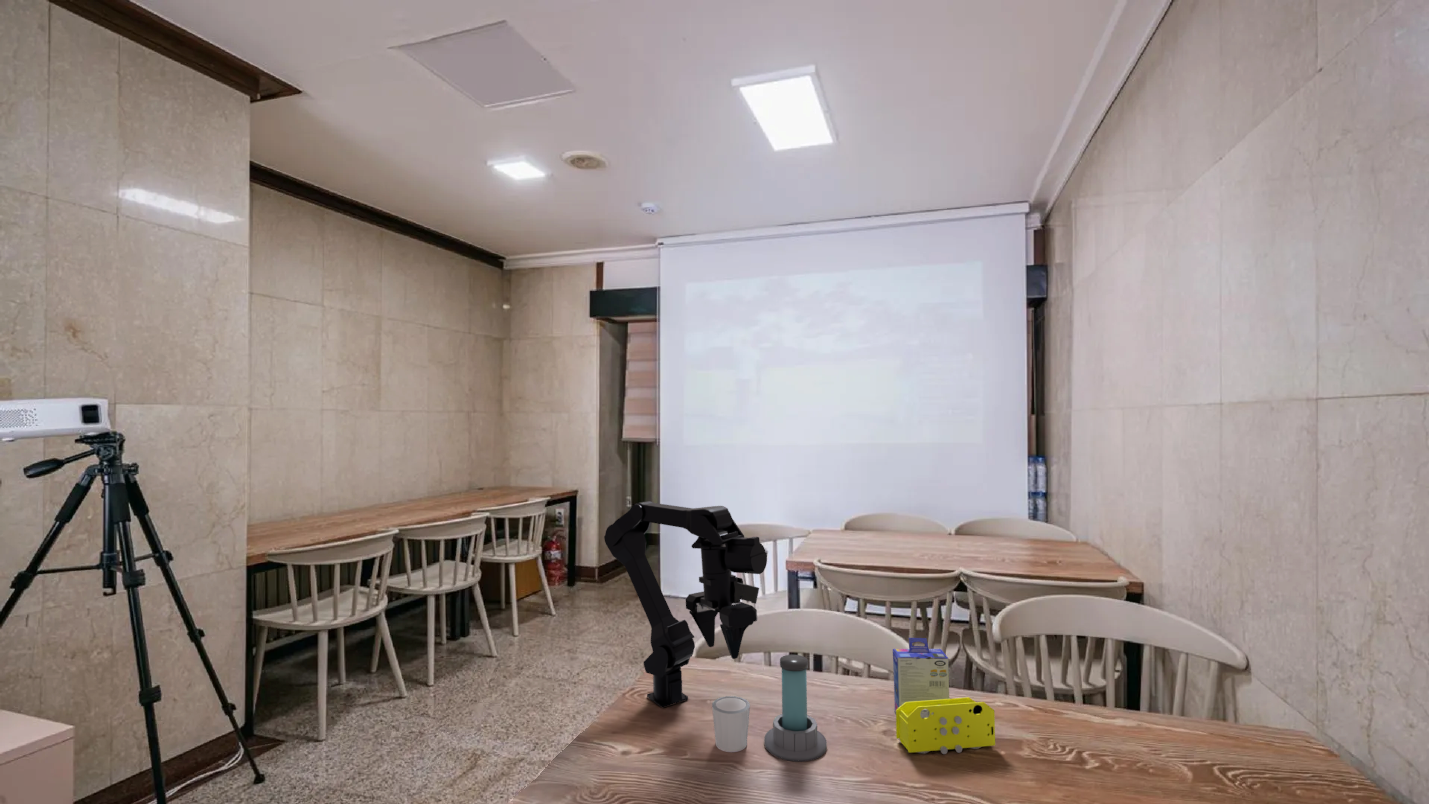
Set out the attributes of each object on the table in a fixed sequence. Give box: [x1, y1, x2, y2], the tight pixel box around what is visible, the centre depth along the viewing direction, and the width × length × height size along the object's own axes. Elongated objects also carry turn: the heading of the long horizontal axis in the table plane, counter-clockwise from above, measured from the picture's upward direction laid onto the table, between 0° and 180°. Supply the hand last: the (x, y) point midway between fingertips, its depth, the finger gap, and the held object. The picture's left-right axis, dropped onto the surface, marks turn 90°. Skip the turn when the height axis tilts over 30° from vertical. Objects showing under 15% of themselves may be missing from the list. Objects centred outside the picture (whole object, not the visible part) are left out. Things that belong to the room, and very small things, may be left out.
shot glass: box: [711, 695, 751, 753], centre depth 108 cm, size 7×7×7 cm
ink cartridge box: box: [892, 637, 950, 714], centre depth 118 cm, size 10×6×14 cm, turn 86°
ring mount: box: [763, 713, 828, 763], centre depth 107 cm, size 11×11×4 cm
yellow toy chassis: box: [895, 696, 996, 755], centre depth 107 cm, size 16×6×8 cm, turn 98°
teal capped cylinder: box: [779, 654, 809, 731], centre depth 108 cm, size 5×5×14 cm
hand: (722, 652), depth 118 cm, fingers open, 9 cm apart
